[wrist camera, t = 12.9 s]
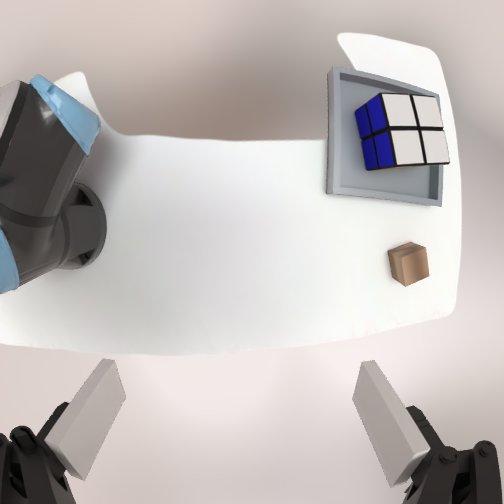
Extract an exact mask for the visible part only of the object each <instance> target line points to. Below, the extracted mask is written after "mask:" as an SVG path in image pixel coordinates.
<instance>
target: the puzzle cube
mask: <svg viewBox="0 0 504 504" xmlns="http://www.w3.org/2000/svg"><path fill="white" fill-rule="evenodd" d="M355 116H356V121H357V125H358V130H359V134H360V138H361V139H362V142H361V144H362V149H363V154H364V160H365V166H366V170H367V171H375V170H385V169H397V168H409V167H421V166H432V165H446V164H449V163H450V159H449V153H448V147H447V142H446V137H445V132H444V130H443V123H442V119H441V114H440V110H439V106H438V103H437V99H436V97H435V96H428V95H418V94H410V95H408V94H407V93H387V92H380V93H378V94H377V95H376V96H374V97H373V98H371V99H370V100H369V101H368V102H367V103H365V104H363V105H362V106H361V107H359V108H358V109H357V110H356V111H355Z"/></svg>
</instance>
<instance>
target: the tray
mask: <svg viewBox="0 0 504 504" xmlns="http://www.w3.org/2000/svg"><path fill="white" fill-rule="evenodd" d="M327 81H328V161H327V187H326V193H331V194H342V195H353V196H363V197H372V198H380V199H389V200H397V201H404V202H411V203H418V204H425V205H432V206H439V207H442V192H443V165H432V166H421V167H409V168H397V169H385V170H375V171H367V170H366V166H365V160H364V154H363V149H362V144H361V142H362V139H361V138H360V134H359V130H358V125H357V121H356V116H355V111H356V110H357V109H358V108H359V107H361V106H362V105H363V104H365V103H367V102H368V101H369V100H370V99H371V98H373V97H374V96H376V95H377V94H378V93H380V92H387V93H407V94H408V95H410V94H418V95H428V96H435V97H436V99H437V103H438V106H439V110H440V114H441V108H440V99H439V94H436V93H433V92H431V91H428V90H425V89H422V88H419V87H416V86H413V85H410V84H407V83H404V82H400V81H397V80H394V79H390V78H386V77H383V76H379V75H375V74H371V73H366V72H362V71H357V70H353V69H347V68H342V67H336V66H333V67H332V68H331V70H330V71H329V73H328V74H327Z"/></svg>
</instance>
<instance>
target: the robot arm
mask: <svg viewBox="0 0 504 504" xmlns="http://www.w3.org/2000/svg"><path fill="white" fill-rule="evenodd" d="M100 126H101V123H100V119H99V117H98V116H97V115H96V114H95V113H94V112H92V111H91V110H90V109H88V108H87V107H85V106H84V105H83V104H81V103H80V102H78V101H77V100H76V99H74V98H73V97H71V96H70V95H68V94H67V93H66V92H64V91H63V90H61V89H60V88H58V87H57V86H56V85H54V84H53V83H51V82H50V81H48V80H47V79H46V78H44V77H43V76H41V75H39V74H38V75H36V76H35V77H34V78H32V79H31V80H30V84H26V83H24V82H22V81H19V80H15V81H13V82H11V83H9V84H7V85H5V86H4V87H2V88H0V294H3V293H5V292H7V291H10V290H16V289H17V288H18V287H19V286H21V285H23V284H25V283H27V282H29V281H31V280H33V279H35V278H37V277H39V276H41V275H43V274H45V273H47V272H49V271H51V270H53V269H55V268H59V269H78V268H81V267H83V266H85V265H87V264H89V263H91V262H92V261H94V260H95V259H96V257H97V256H98V255H99V253H100V252H101V250H102V248H103V245H104V242H105V237H106V218H105V213H104V210H103V207H102V204H101V202H100V200H99V199H98V197H97V196H96V194H95V193H94V192H93V191H92V190H91V189H89V188H88V187H86V186H85V185H82V184H78V183H74V181H75V179H76V177H77V175H78V173H79V171H80V169H81V167H82V165H83V163H84V161H85V159H86V157H87V156H89V154H90V149H91V147H92V145H93V143H94V141H95V139H96V137H97V135H98V133H99V131H100ZM125 398H126V395H125V392H124V389H123V386H122V383H121V380H120V377H119V373H118V370H117V367H116V363H115V360H110V359H102V360H101V362H100V363H99V364H98V366H97V367H96V368H95V370H94V371H93V372H92V374H91V375H90V376H89V378H88V379H87V380H86V382H85V383H84V385H83V386H82V387H81V388H80V390H79V391H78V392H77V394H76V395H75V397H74V398H73V400H72V401H71V402H70V403H67V402H64V403H62V404H61V405H59V406H58V407H57V408H56V409H55V411H54V412H53V415H51V416H50V418H49V420H47V422H46V423H45V424H44V426H43V427H42V429H41V430H40V432H39V433H38V434H37V436H35V435H34V434H33V432H32V430H31V429H30V428H28V427H26V426H18V427H16V428H14V429H13V430H12V431H11V433H10V439H11V440H12V442H11V441H9V440H8V439H7V437H6V436H5V435H3V434H2V433H0V504H76V502H75V500H74V497H73V495H72V492H71V490H70V487H69V484H68V481H67V478H66V476H65V475H64V472H65V470H67V471H68V472H69V473H70V475H71V476H73V477H76V478H78V479H81V480H85V479H86V477H87V475H88V473H89V471H90V468H91V466H92V464H93V462H94V460H95V458H96V456H97V454H98V452H99V449H100V447H101V445H102V444H103V441H104V439H105V437H106V435H107V433H108V431H109V429H110V427H111V425H112V424H113V421H114V420H115V418H116V416H117V414H118V412H119V410H120V408H121V406H122V404H123V402H124V400H125ZM352 400H353V402H354V404H355V406H356V409H357V411H358V413H359V416H360V417H361V420H362V422H363V425H364V427H365V429H366V431H367V434H368V436H369V438H370V441H371V443H372V445H373V448H374V450H375V452H376V455H377V457H378V459H379V462H380V464H381V466H382V469H383V471H384V474H385V476H386V478H387V481H388V483H389V486H390V488H392V487H395V486H398V485H401V484H404V483H406V482H407V480H408V479H409V478H410V476H411V479H412V481H413V482H412V483H411V485H410V486H409V487H408V489H407V490H406V491H405V493H407V492H408V493H407V495H406V497H405V499H404V501H403V504H502V489H501V479H500V471H499V464H498V457H497V451H496V448H495V445H494V444H493V443H491V442H489V441H485V440H483V441H480V442H478V443H477V444H476V445H475V446H474V448H473V449H470V450H463V451H457V450H456V449H455V448H453V447H450V446H445V445H444V444H443V443H442V441H441V440H440V438H439V437H438V435H437V434H436V432H435V431H434V429H433V427H432V426H431V425H430V423H429V422H428V420H426V417H425V416H424V414H423V413H422V411H421V410H419V409H418V408H416V407H415V406H410V407H406V408H405V406H404V405H403V403H402V402H401V400H400V398H399V397H398V395H397V394H396V392H395V391H394V389H393V388H392V386H391V384H390V383H389V382H388V380H387V378H386V377H385V375H384V374H383V372H382V371H381V369H380V368H379V366H378V365H377V363H376V362H375V360H372V361H365V362H362V363H361V367H360V371H359V375H358V379H357V383H356V387H355V391H354V394H353V398H352Z"/></svg>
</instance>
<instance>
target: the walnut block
mask: <svg viewBox="0 0 504 504" xmlns="http://www.w3.org/2000/svg"><path fill="white" fill-rule="evenodd" d="M388 256H389V261H390V267H391V272H392V278H394V279H395V280H397V281H398V282H399V283H401V284H402V285H404V286H405V287H406V286H408V285H411V284H413V283H415V282H417V281H419V280H422V279H424V278H426V277H428V276H429V269H428V260H427V253H426V248H425V247H423V246H420V245H418V244H415V243H413V242H409V243H407V244H404V245H402V246H399V247H396V248H394V249H391V250H389V251H388Z"/></svg>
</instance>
